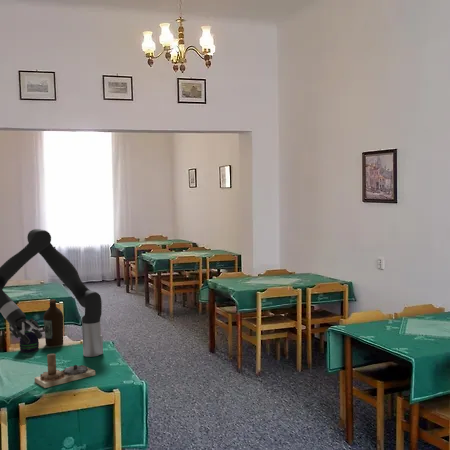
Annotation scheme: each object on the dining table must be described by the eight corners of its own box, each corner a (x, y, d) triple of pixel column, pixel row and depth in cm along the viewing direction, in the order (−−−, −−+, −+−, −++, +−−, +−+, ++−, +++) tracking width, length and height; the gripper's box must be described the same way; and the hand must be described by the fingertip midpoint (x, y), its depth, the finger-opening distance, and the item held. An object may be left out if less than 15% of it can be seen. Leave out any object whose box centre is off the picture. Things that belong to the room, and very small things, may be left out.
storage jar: (42, 350, 297) (41, 322, 296) (24, 354, 290) (23, 326, 290) (34, 346, 304) (32, 320, 304) (16, 350, 298) (15, 323, 297)
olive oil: (56, 340, 316) (54, 297, 315) (68, 343, 310) (66, 299, 309) (40, 344, 308) (38, 300, 306) (52, 347, 301) (50, 302, 300)
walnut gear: (58, 371, 252) (57, 350, 251) (67, 376, 244) (66, 354, 244) (36, 377, 245) (35, 354, 245) (46, 382, 238) (45, 359, 237)
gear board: (84, 369, 261) (83, 359, 261) (95, 374, 253) (94, 364, 253) (34, 382, 245) (34, 371, 245) (45, 388, 237) (44, 377, 237)
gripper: (6, 311, 242) (29, 338, 239) (27, 305, 256) (49, 330, 253) (-3, 322, 244) (19, 349, 241) (18, 315, 258) (40, 341, 255)
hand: (35, 339), depth 247 cm, fingers open, 8 cm apart
